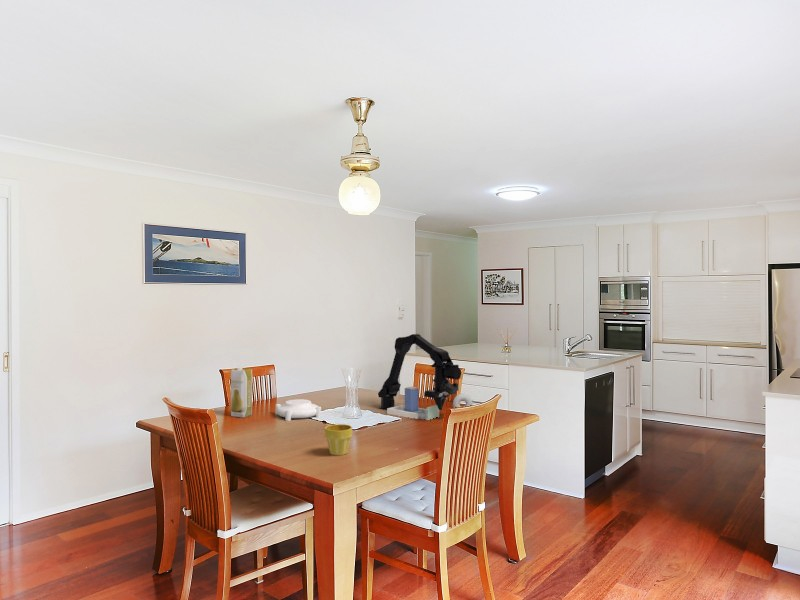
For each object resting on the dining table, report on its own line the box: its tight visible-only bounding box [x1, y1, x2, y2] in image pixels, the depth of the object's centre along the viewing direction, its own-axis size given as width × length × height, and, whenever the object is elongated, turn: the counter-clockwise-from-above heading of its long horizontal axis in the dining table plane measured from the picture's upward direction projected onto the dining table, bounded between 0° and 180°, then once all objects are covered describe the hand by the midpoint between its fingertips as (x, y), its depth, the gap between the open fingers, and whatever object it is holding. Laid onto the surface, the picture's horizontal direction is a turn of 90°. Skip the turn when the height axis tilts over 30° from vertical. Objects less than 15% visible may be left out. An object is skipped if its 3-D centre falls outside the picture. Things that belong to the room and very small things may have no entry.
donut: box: [452, 393, 473, 409], centre depth 281 cm, size 10×4×10 cm, turn 94°
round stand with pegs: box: [275, 398, 322, 422], centre depth 275 cm, size 24×24×7 cm
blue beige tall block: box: [404, 386, 419, 412], centre depth 278 cm, size 5×5×12 cm
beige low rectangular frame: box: [386, 404, 426, 420], centre depth 279 cm, size 19×12×2 cm, turn 50°
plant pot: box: [324, 423, 353, 456], centre depth 211 cm, size 10×10×10 cm
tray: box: [401, 404, 440, 421], centre depth 275 cm, size 18×9×6 cm, turn 50°
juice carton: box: [230, 366, 253, 418], centre depth 273 cm, size 9×8×24 cm
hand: (440, 409), depth 267 cm, fingers closed
